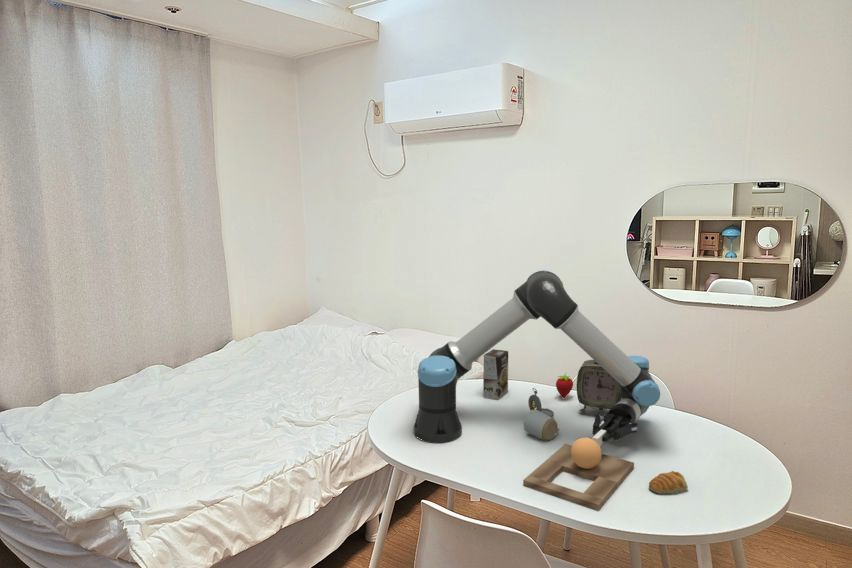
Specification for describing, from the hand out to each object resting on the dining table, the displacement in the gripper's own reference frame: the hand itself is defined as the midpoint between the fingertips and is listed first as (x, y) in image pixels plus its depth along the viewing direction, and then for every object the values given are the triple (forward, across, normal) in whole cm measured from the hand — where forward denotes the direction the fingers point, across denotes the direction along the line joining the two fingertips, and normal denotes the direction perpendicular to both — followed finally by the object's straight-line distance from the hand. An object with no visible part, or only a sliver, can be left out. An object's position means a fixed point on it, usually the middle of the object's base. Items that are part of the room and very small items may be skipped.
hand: (595, 442), depth 159 cm
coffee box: (-32, +50, -7) cm, 59 cm away
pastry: (0, -20, -7) cm, 21 cm away
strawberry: (-42, +28, -7) cm, 51 cm away
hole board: (+8, +1, -7) cm, 10 cm away
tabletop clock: (-37, +12, -7) cm, 39 cm away
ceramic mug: (-10, +20, -7) cm, 24 cm away
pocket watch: (-23, +28, -7) cm, 37 cm away
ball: (+5, +1, -1) cm, 5 cm away
